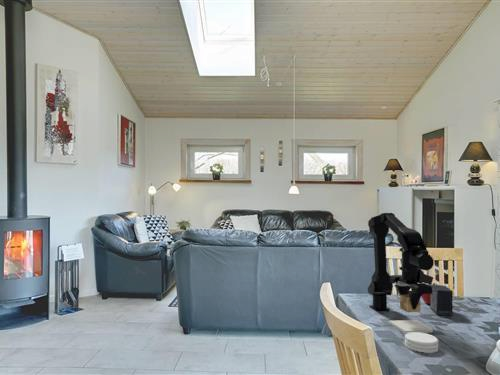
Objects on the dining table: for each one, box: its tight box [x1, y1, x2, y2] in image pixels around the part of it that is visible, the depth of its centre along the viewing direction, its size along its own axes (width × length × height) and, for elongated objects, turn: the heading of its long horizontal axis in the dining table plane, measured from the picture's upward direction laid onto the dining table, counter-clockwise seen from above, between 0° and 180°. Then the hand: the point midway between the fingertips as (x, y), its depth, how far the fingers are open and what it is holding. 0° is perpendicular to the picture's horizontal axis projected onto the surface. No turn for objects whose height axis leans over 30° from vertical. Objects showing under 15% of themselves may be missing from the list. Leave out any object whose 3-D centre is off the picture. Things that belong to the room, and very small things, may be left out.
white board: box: [388, 319, 434, 335], centre depth 139 cm, size 11×11×1 cm
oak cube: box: [399, 294, 421, 313], centre depth 140 cm, size 5×5×5 cm
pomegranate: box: [421, 282, 437, 305], centre depth 172 cm, size 10×10×9 cm
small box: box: [429, 284, 454, 317], centre depth 160 cm, size 11×6×10 cm, turn 168°
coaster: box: [404, 332, 440, 354], centre depth 122 cm, size 10×10×4 cm
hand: (409, 307), depth 140 cm, fingers closed on oak cube, 5 cm apart
